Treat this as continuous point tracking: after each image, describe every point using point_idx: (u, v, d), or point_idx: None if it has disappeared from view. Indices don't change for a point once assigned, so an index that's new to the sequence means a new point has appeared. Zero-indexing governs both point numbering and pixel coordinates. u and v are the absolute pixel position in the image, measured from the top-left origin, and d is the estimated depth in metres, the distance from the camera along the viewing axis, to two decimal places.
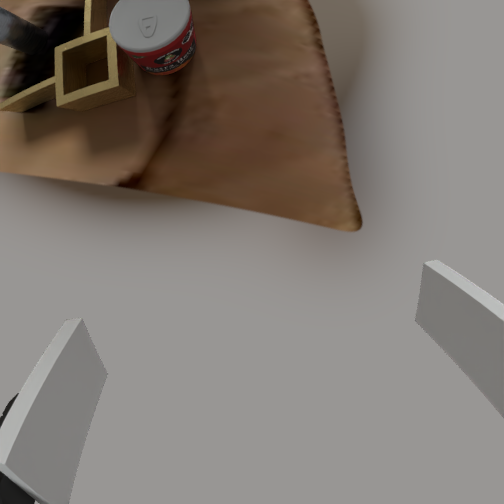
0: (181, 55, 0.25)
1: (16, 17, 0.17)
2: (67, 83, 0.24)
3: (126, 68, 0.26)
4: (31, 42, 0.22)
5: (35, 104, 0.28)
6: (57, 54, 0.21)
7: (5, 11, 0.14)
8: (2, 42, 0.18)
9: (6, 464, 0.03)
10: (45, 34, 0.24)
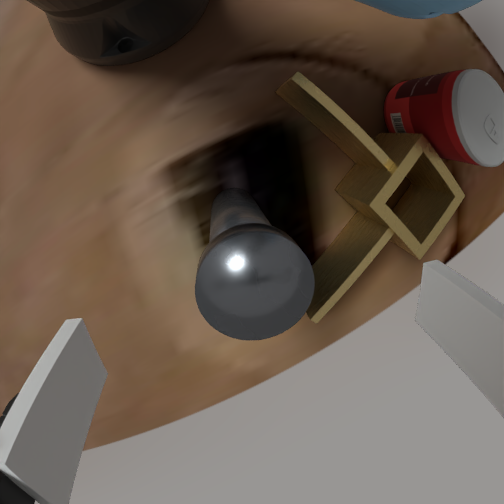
0: None
1: (253, 210, 0.18)
2: None
3: None
4: None
5: None
6: (380, 210, 0.21)
7: (257, 220, 0.16)
8: None
9: (6, 464, 0.03)
10: (245, 191, 0.26)
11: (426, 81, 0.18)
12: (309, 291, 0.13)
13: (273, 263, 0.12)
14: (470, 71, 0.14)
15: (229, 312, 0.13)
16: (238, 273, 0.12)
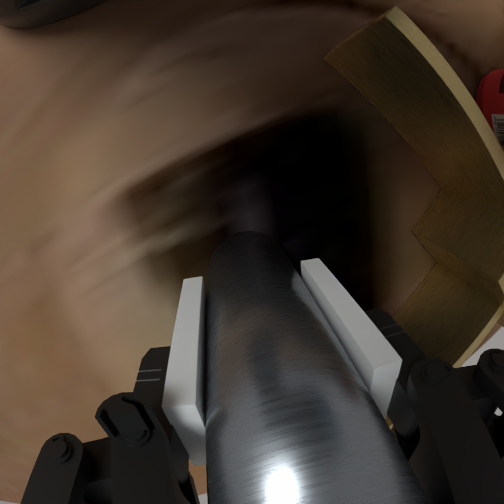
0: None
1: (318, 341, 0.07)
2: None
3: None
4: None
5: None
6: None
7: (357, 427, 0.04)
8: None
9: (196, 404, 0.06)
10: (270, 240, 0.14)
11: None
12: None
13: None
14: None
15: None
16: None
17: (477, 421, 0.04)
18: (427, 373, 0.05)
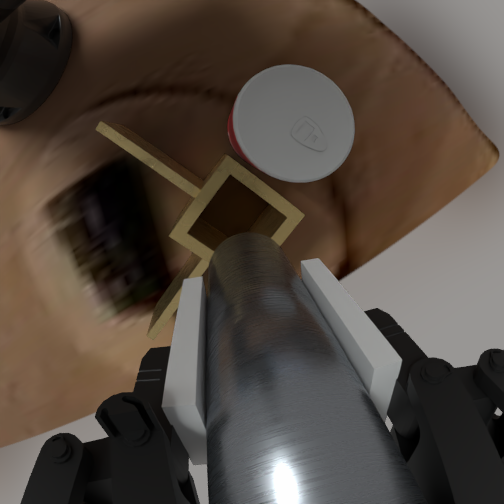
0: None
1: (316, 341, 0.07)
2: None
3: None
4: None
5: None
6: (182, 240, 0.23)
7: (353, 425, 0.04)
8: None
9: (196, 404, 0.06)
10: (270, 241, 0.14)
11: None
12: None
13: None
14: (262, 71, 0.16)
15: None
16: None
17: (477, 421, 0.04)
18: (427, 373, 0.05)
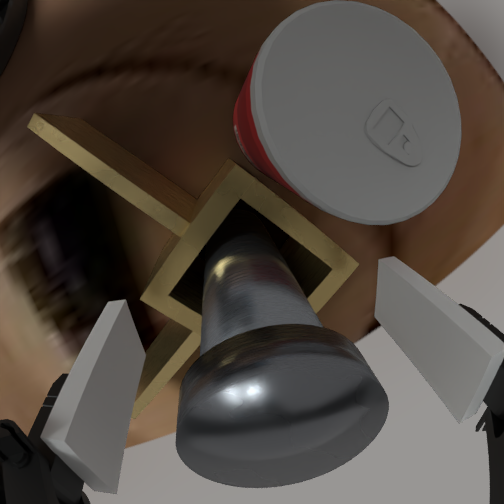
0: None
1: (270, 258, 0.12)
2: None
3: (297, 211, 0.16)
4: None
5: None
6: (162, 306, 0.14)
7: (281, 287, 0.09)
8: None
9: (66, 441, 0.04)
10: (252, 215, 0.19)
11: None
12: (375, 430, 0.06)
13: (324, 409, 0.05)
14: (311, 6, 0.06)
15: (239, 468, 0.06)
16: (256, 428, 0.05)
17: None
18: None
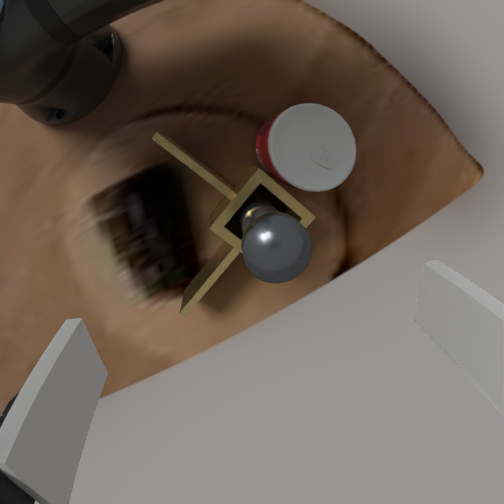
0: None
1: (272, 207, 0.27)
2: None
3: None
4: None
5: None
6: (219, 232, 0.29)
7: None
8: None
9: (6, 464, 0.03)
10: None
11: (270, 120, 0.27)
12: (309, 252, 0.22)
13: (288, 234, 0.21)
14: (291, 108, 0.22)
15: (261, 263, 0.21)
16: (269, 239, 0.21)
17: None
18: None
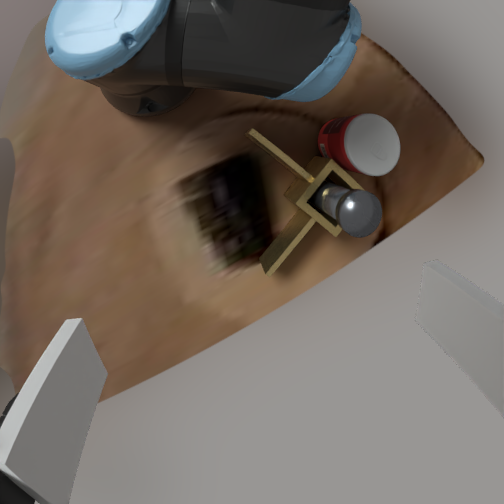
0: None
1: None
2: None
3: None
4: None
5: None
6: (303, 206, 0.38)
7: None
8: None
9: (6, 464, 0.03)
10: None
11: (337, 123, 0.35)
12: (380, 216, 0.30)
13: (368, 203, 0.30)
14: (359, 117, 0.31)
15: (351, 223, 0.30)
16: (356, 206, 0.29)
17: None
18: None
